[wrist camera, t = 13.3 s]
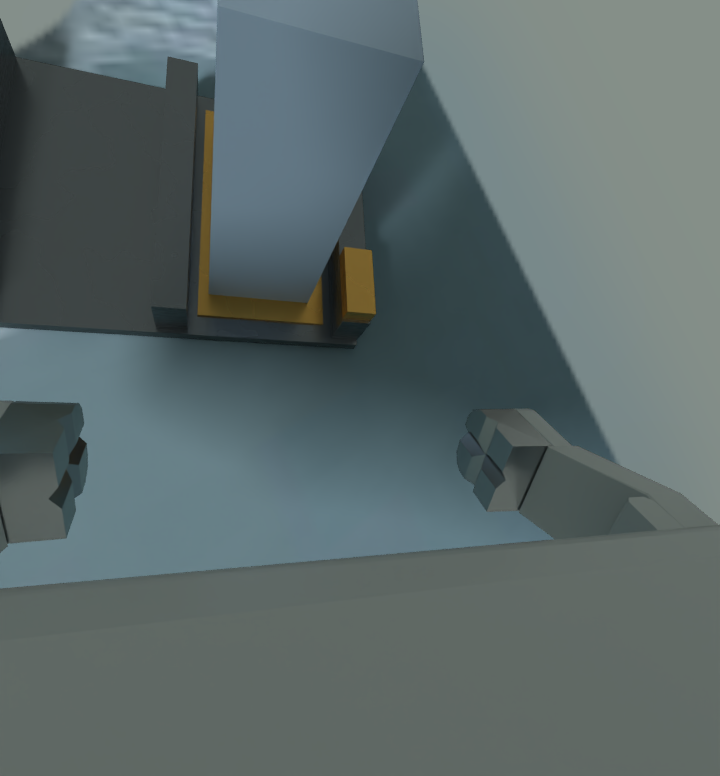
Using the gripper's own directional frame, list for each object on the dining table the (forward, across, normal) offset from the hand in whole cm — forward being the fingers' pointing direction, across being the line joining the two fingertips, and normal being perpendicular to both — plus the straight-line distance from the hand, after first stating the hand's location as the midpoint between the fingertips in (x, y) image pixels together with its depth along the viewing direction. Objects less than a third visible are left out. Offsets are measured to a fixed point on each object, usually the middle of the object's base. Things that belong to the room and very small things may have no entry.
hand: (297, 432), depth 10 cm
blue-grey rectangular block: (+11, 0, -2) cm, 11 cm away
